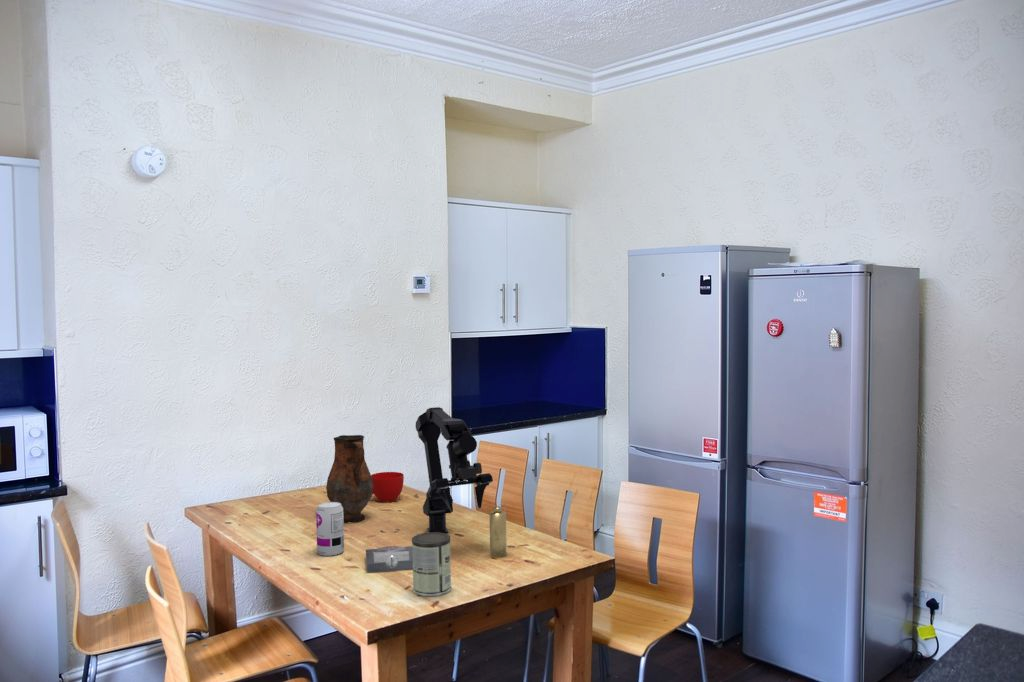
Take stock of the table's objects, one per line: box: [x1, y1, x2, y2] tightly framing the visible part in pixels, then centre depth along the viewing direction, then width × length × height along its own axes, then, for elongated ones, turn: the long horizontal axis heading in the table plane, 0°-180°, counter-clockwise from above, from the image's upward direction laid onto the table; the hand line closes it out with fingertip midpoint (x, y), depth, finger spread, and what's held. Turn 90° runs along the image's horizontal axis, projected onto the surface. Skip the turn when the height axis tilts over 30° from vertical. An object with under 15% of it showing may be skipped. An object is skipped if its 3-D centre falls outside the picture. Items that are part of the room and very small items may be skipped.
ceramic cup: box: [371, 471, 405, 503], centre depth 308 cm, size 13×17×10 cm
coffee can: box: [411, 532, 452, 597], centre depth 208 cm, size 10×10×14 cm
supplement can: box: [315, 501, 345, 557], centre depth 242 cm, size 8×8×15 cm
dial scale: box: [365, 545, 413, 573], centre depth 231 cm, size 14×14×4 cm
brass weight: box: [489, 506, 507, 558], centre depth 238 cm, size 5×5×15 cm
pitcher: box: [325, 434, 373, 523], centre depth 279 cm, size 17×21×30 cm
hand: (466, 510), depth 240 cm, fingers open, 9 cm apart
